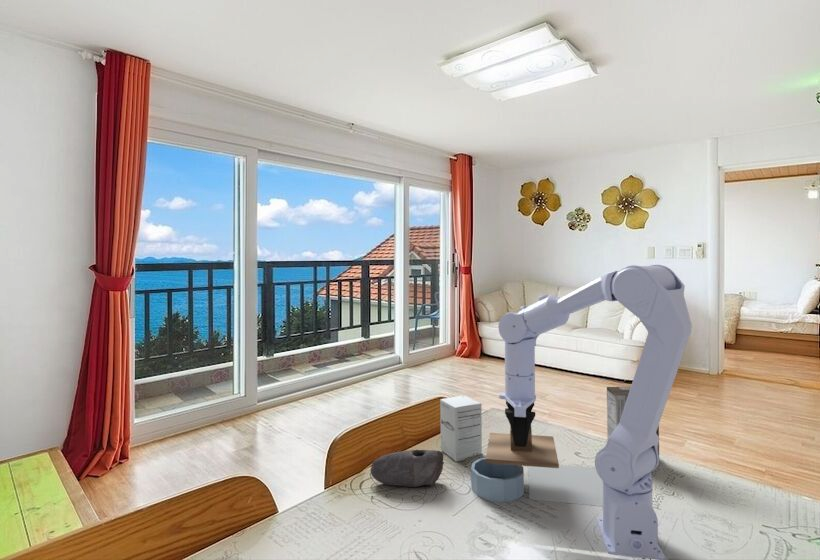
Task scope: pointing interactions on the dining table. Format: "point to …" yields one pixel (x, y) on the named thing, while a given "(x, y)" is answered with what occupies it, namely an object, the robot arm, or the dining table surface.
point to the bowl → (497, 481)
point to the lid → (522, 451)
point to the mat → (566, 484)
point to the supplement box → (461, 427)
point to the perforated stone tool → (408, 468)
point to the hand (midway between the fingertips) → (520, 441)
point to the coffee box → (617, 408)
